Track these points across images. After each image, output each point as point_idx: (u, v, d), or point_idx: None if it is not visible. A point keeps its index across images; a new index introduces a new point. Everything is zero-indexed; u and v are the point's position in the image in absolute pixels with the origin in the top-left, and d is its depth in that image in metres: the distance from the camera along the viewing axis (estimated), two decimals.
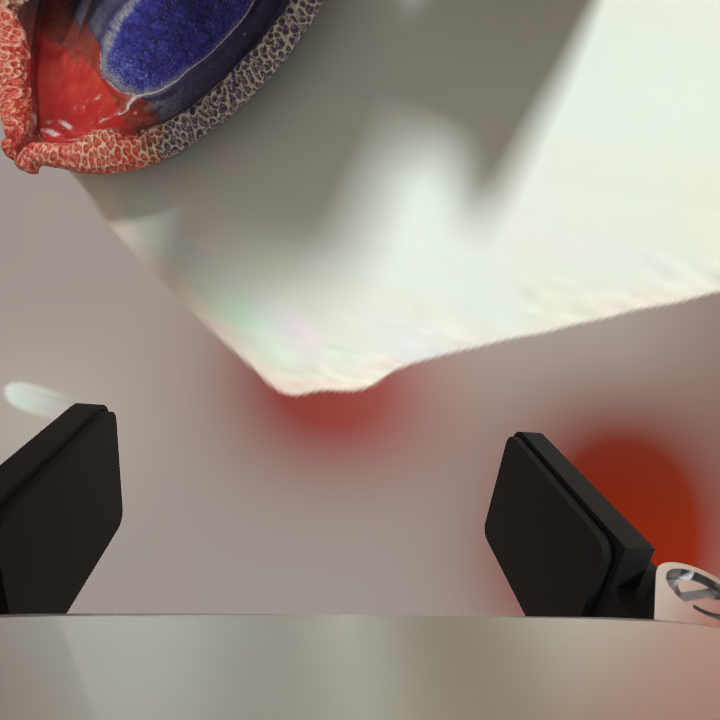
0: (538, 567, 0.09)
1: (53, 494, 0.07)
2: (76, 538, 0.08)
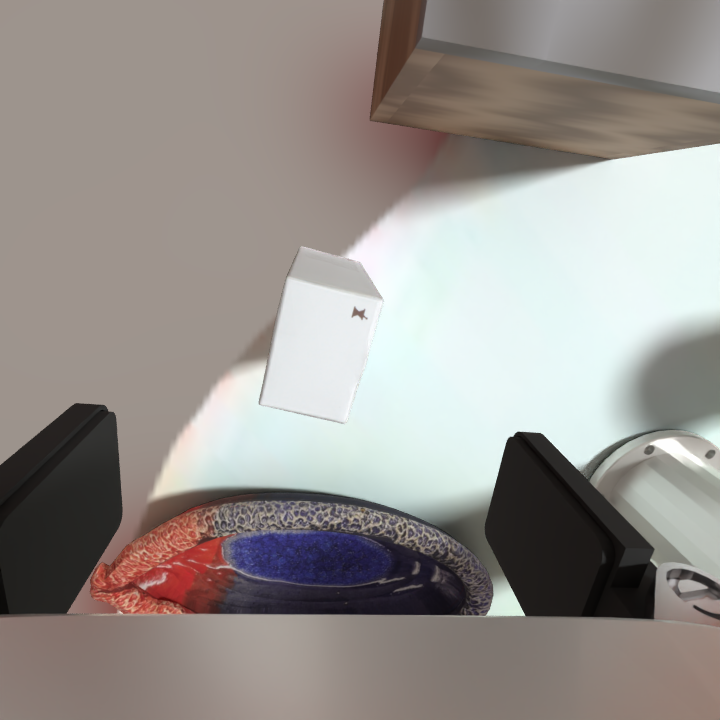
0: (538, 567, 0.09)
1: (53, 494, 0.07)
2: (76, 538, 0.08)
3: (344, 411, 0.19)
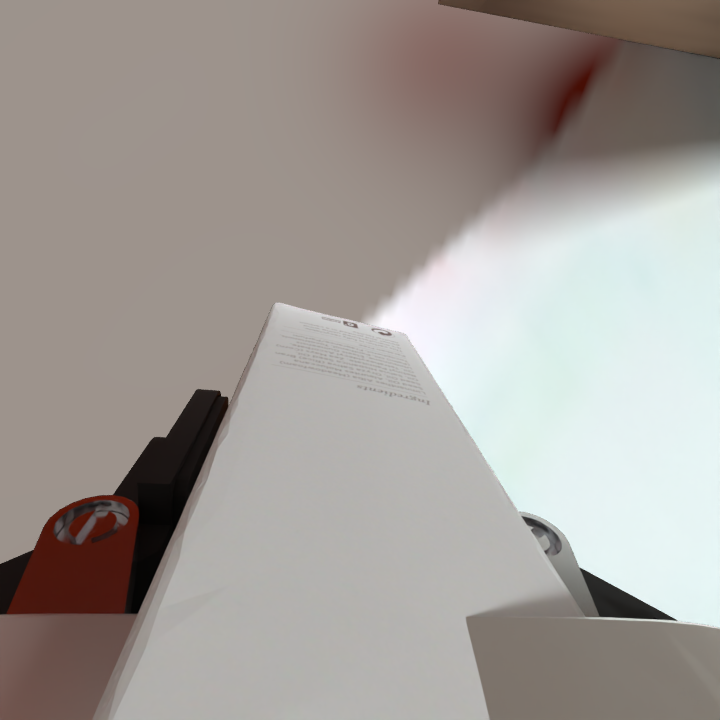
0: None
1: None
2: None
3: None
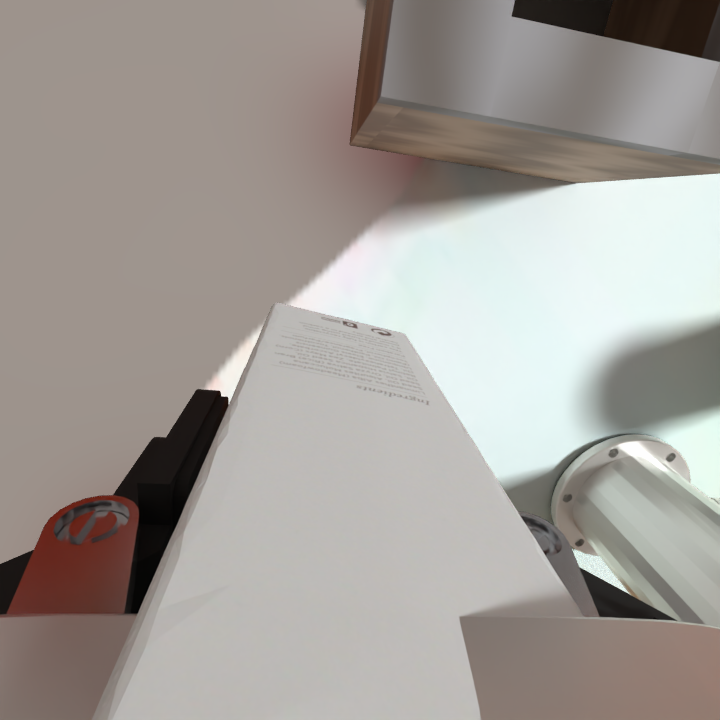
0: None
1: None
2: None
3: None
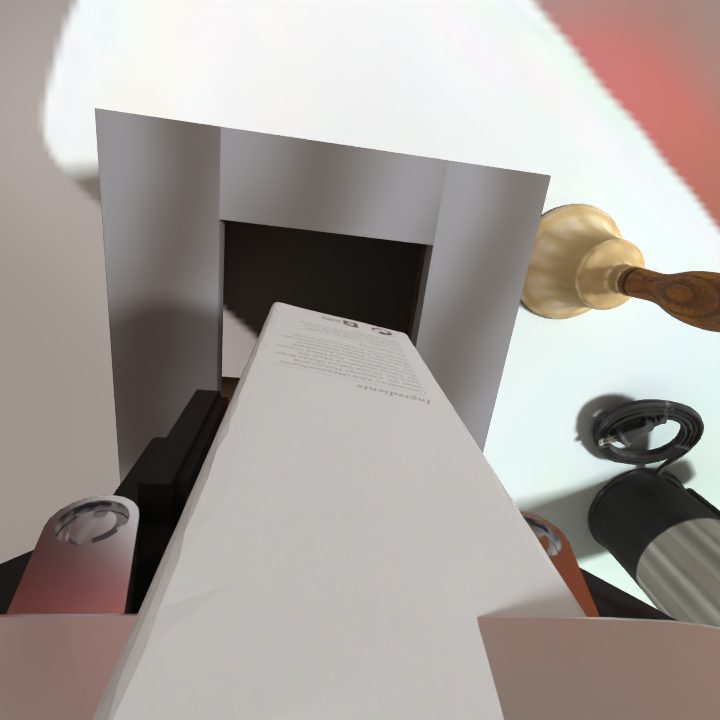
0: None
1: None
2: None
3: None
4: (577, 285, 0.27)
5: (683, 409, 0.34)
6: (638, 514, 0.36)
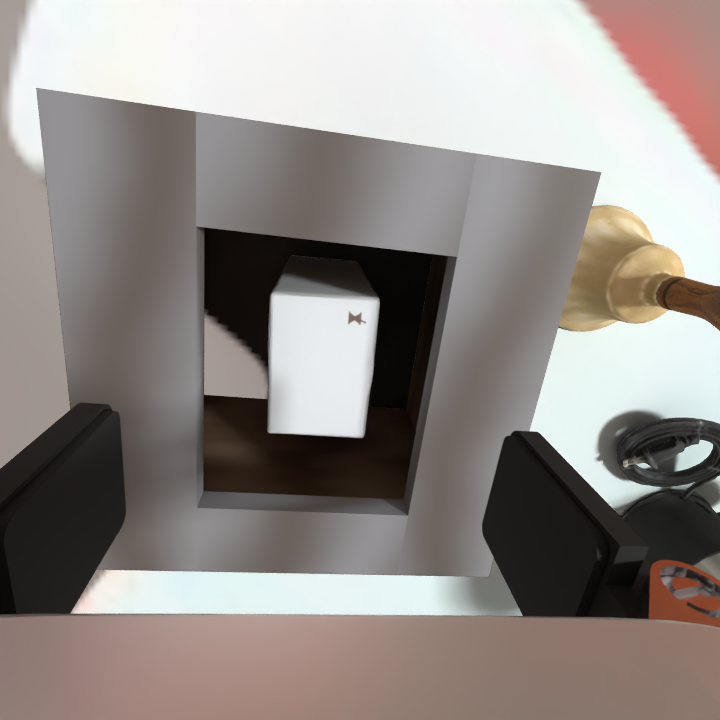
0: (534, 565, 0.09)
1: (59, 492, 0.07)
2: (81, 536, 0.08)
3: (359, 425, 0.18)
4: (608, 296, 0.24)
5: (718, 429, 0.31)
6: (666, 542, 0.33)
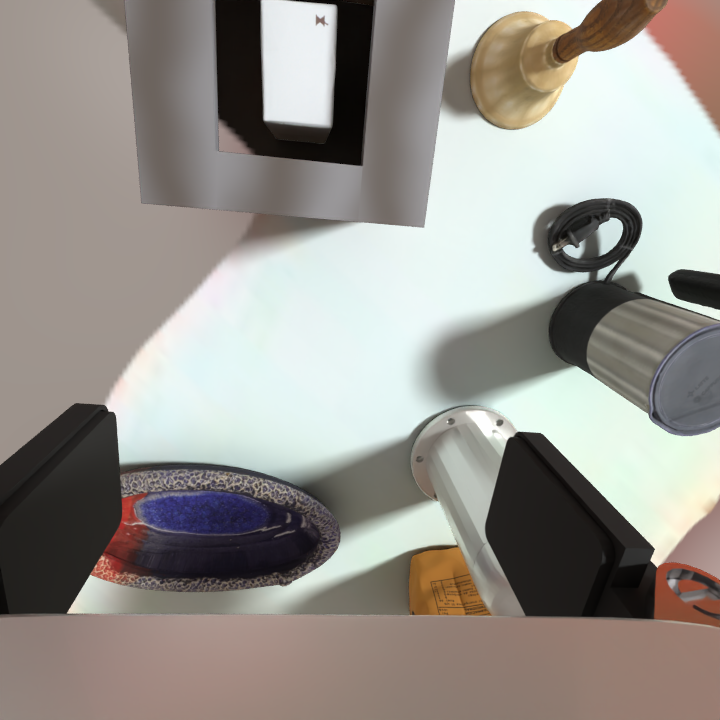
0: (538, 567, 0.09)
1: (53, 494, 0.07)
2: (76, 538, 0.08)
3: (328, 114, 0.25)
4: (521, 66, 0.32)
5: (623, 204, 0.38)
6: (588, 309, 0.41)
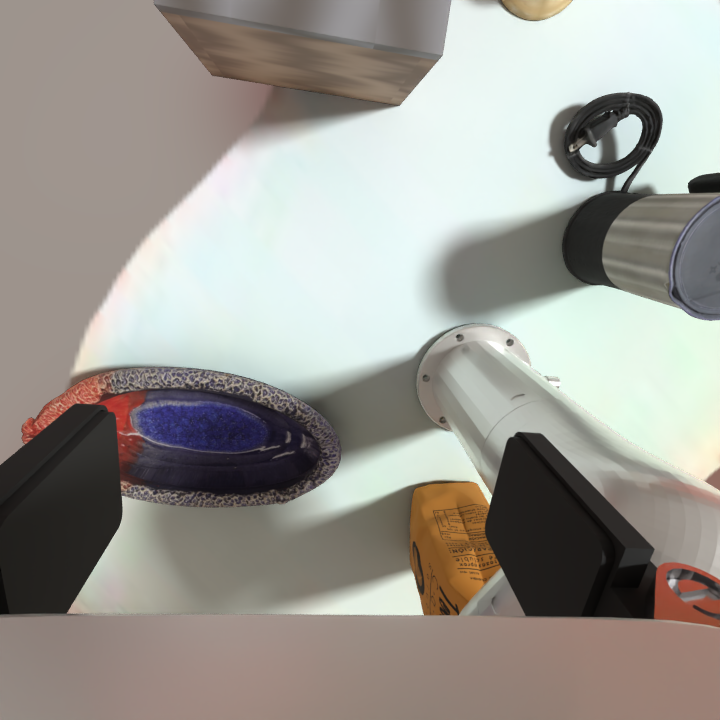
0: (538, 567, 0.09)
1: (53, 494, 0.07)
2: (76, 538, 0.08)
3: None
4: None
5: (643, 97, 0.37)
6: (604, 210, 0.39)
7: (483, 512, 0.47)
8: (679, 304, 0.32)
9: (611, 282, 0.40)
